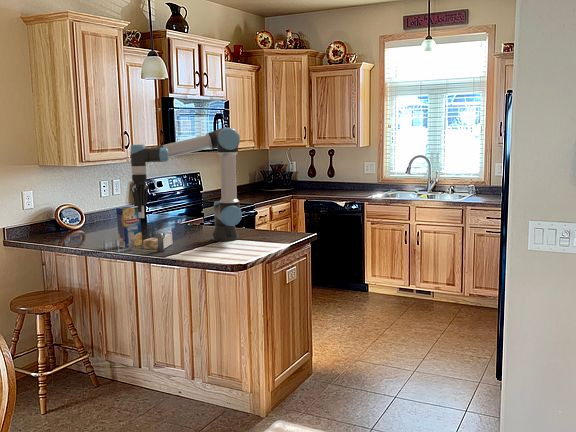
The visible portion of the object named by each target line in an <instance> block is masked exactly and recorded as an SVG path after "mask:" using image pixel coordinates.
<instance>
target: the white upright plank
mask: <svg viewBox="0 0 576 432" xmlns="http://www.w3.org/2000/svg"><path fill="white" fill-rule="evenodd" d="M163 244H164V250H165V249H166V248H168V247H170V246H171V245H173V231H167V233H166V234H165V235H163Z"/></svg>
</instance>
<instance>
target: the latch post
mask: <svg viewBox="0 0 576 432" xmlns="http://www.w3.org/2000/svg"><path fill="white" fill-rule="evenodd" d="M128 240H129V247H128V249H129V252H130V251H131V252H132V251H135V250H134V249H136V246H135V238H134V232H128Z"/></svg>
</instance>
